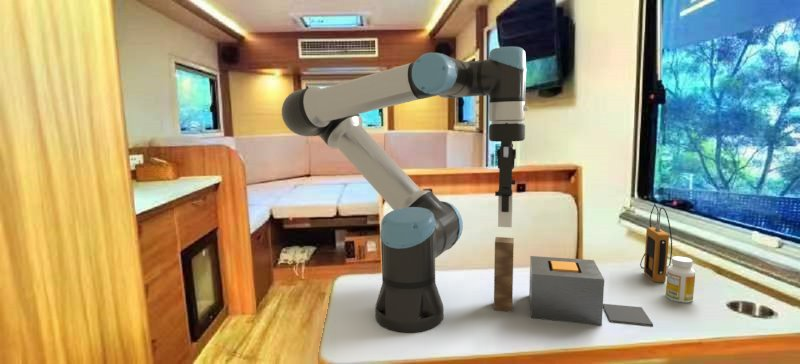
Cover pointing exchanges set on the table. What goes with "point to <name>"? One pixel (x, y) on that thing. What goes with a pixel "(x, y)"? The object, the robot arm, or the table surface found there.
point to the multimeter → (656, 250)
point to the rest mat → (627, 314)
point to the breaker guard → (566, 291)
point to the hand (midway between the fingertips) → (505, 219)
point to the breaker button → (564, 266)
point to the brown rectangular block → (503, 274)
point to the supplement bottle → (680, 280)
